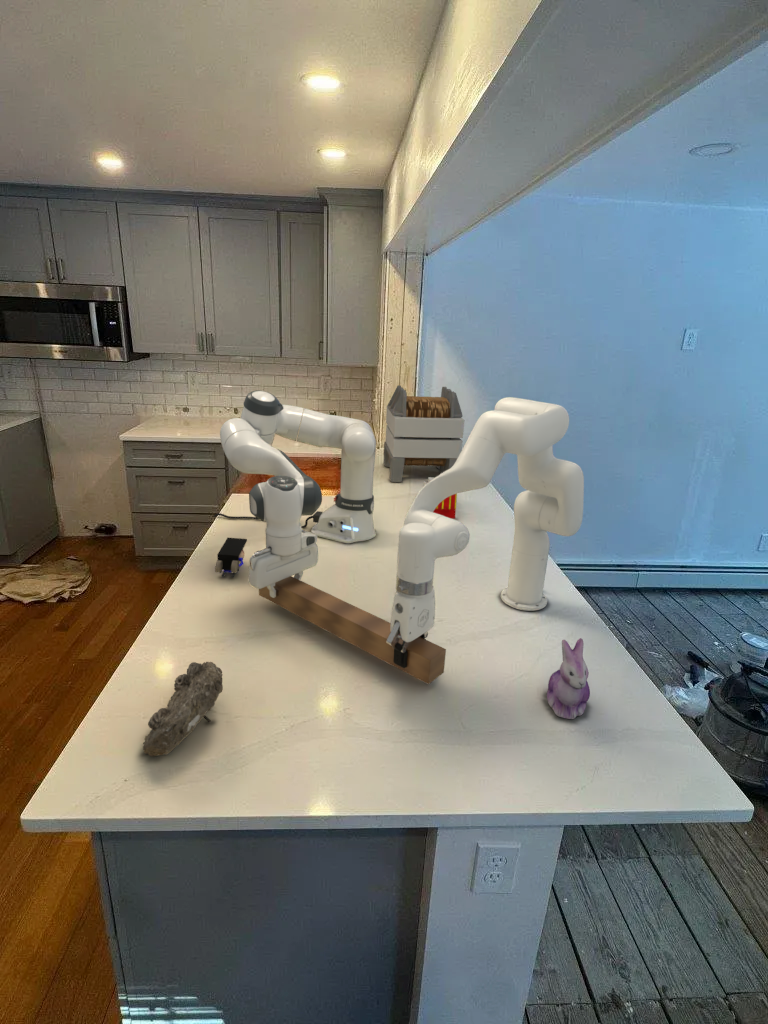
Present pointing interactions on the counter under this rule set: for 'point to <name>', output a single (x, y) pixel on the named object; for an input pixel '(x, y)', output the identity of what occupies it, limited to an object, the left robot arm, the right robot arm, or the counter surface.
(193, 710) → the fossil
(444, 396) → the transformer
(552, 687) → the figurine
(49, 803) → the counter surface
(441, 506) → the toy
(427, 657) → the beam
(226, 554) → the figurine character
